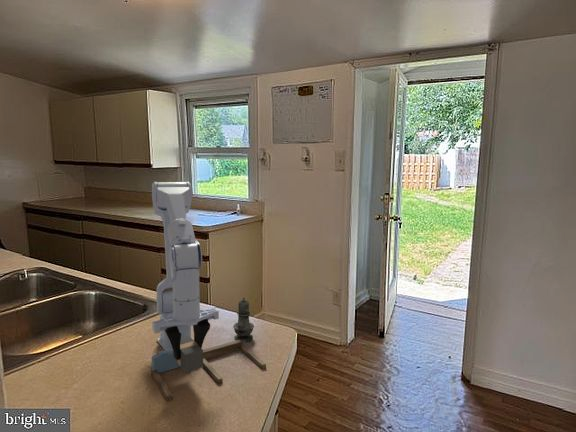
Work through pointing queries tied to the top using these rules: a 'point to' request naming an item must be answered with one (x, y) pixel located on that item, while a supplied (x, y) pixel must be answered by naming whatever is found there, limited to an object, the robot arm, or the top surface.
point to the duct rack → (168, 362)
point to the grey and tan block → (190, 355)
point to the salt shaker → (243, 323)
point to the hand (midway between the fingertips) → (187, 354)
